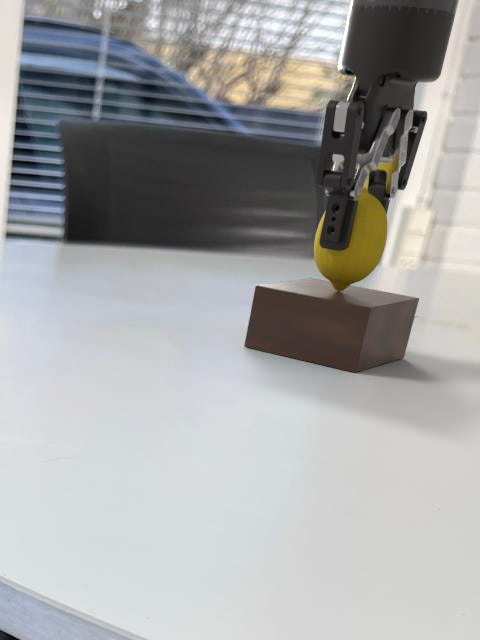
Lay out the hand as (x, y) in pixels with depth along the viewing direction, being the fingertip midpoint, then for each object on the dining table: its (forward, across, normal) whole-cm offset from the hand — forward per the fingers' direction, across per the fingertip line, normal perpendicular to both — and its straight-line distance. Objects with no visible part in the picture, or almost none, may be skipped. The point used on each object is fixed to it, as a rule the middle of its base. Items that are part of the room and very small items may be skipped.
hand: (349, 246), depth 86 cm
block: (+8, 0, 0) cm, 8 cm away
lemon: (+4, 0, 0) cm, 4 cm away
